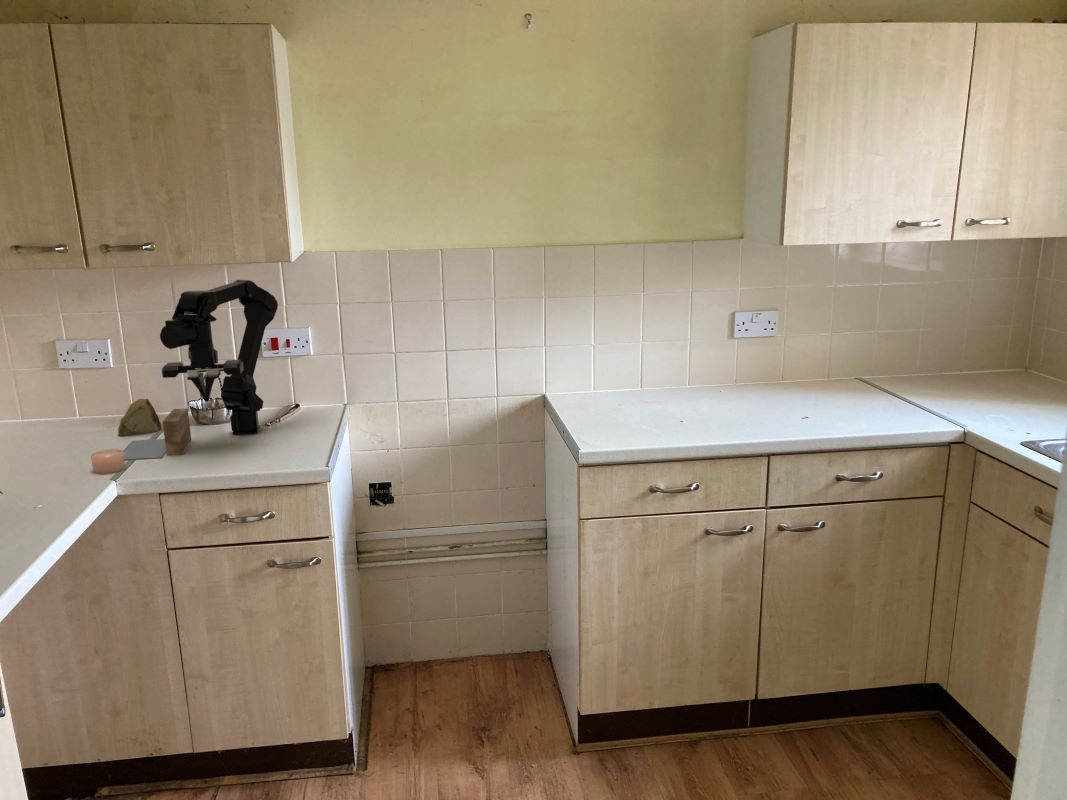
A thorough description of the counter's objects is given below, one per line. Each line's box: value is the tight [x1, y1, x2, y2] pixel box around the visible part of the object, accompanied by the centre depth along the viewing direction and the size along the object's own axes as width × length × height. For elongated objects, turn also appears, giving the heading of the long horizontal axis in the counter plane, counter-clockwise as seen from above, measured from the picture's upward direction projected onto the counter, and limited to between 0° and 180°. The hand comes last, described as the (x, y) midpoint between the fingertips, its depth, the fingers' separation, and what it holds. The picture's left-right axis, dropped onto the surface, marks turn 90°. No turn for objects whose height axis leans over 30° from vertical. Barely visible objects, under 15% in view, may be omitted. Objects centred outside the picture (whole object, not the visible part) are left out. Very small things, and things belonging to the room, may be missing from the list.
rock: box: [117, 398, 163, 437], centre depth 230 cm, size 11×9×10 cm
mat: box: [122, 438, 167, 461], centre depth 215 cm, size 11×16×1 cm
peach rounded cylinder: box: [90, 448, 126, 475], centre depth 201 cm, size 7×7×4 cm
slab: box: [162, 407, 192, 457], centre depth 216 cm, size 4×12×9 cm, turn 10°
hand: (207, 401), depth 215 cm, fingers closed
